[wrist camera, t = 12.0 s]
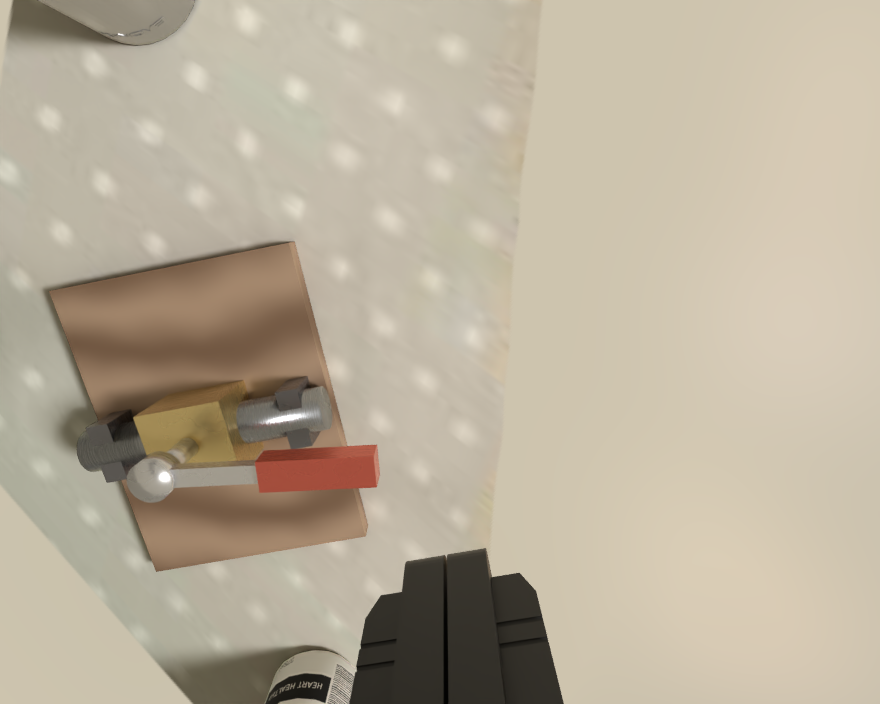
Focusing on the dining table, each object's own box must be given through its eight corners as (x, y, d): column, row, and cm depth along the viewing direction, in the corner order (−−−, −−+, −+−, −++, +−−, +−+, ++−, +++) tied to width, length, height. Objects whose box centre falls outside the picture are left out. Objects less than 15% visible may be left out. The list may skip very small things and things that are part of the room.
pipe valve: (101, 403, 41) (13, 452, 33) (323, 362, 40) (291, 401, 32) (125, 467, 43) (46, 530, 34) (341, 428, 42) (314, 483, 33)
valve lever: (146, 490, 33) (131, 503, 32) (137, 452, 32) (122, 464, 31) (380, 478, 33) (377, 491, 31) (376, 440, 32) (373, 451, 31)
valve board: (63, 288, 40) (48, 291, 38) (294, 241, 39) (288, 242, 37) (165, 560, 45) (156, 571, 44) (368, 525, 44) (365, 536, 43)
